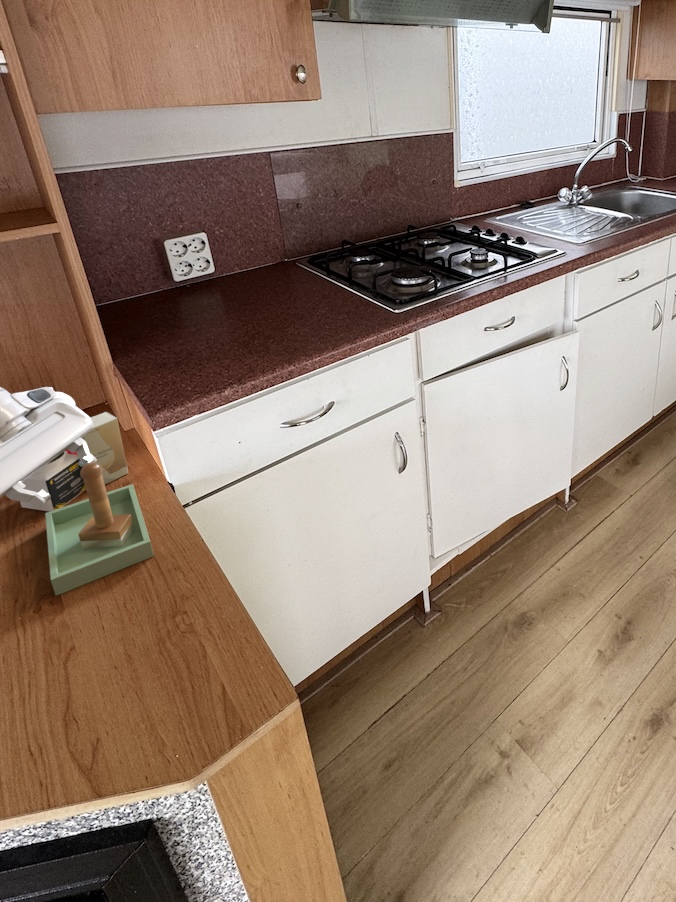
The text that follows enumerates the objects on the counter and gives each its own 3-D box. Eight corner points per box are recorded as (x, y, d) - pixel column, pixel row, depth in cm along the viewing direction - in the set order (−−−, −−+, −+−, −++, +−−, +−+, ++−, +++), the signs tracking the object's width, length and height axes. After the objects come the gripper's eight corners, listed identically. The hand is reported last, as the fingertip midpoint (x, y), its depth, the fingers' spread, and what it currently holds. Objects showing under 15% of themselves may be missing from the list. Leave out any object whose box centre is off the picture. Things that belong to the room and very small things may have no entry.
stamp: (82, 549, 92) (60, 473, 87) (96, 531, 95) (75, 457, 91) (122, 546, 92) (103, 471, 88) (134, 528, 96) (116, 455, 91)
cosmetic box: (94, 490, 106) (79, 433, 102) (82, 482, 108) (67, 425, 104) (131, 472, 111) (118, 417, 107) (119, 464, 113) (105, 410, 109)
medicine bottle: (55, 513, 100) (38, 455, 96) (20, 508, 101) (1, 449, 97) (90, 487, 107) (75, 431, 103) (56, 482, 108) (40, 427, 104)
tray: (153, 556, 91) (150, 541, 90) (55, 596, 84) (50, 580, 83) (136, 497, 104) (132, 483, 103) (49, 527, 97) (45, 513, 96)
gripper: (-65, 452, 77) (23, 517, 79) (57, 381, 96) (124, 436, 99) (-86, 478, 78) (1, 541, 81) (38, 404, 98) (104, 457, 100)
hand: (69, 483), depth 90 cm, fingers open, 8 cm apart
